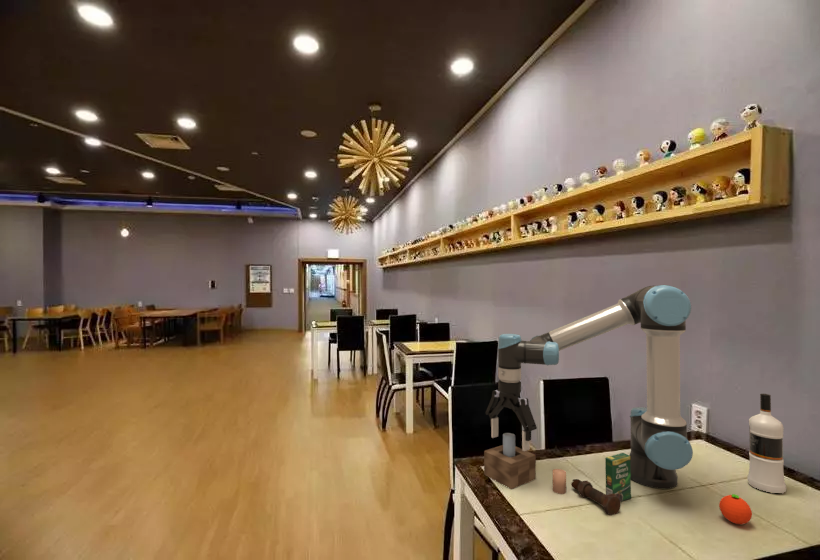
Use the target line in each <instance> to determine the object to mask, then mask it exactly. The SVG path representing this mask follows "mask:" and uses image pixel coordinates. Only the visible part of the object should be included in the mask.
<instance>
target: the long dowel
mask: <svg viewBox="0 0 820 560" xmlns="http://www.w3.org/2000/svg"><path fill="white" fill-rule="evenodd" d="M502 445H503V455H505V456H508V457H510V458H511V457H514V456H515V446H516V435H515V434H514V433H511V432H504V433H503V434H502Z"/></svg>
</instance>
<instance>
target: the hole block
mask: <svg viewBox="0 0 820 560" xmlns="http://www.w3.org/2000/svg"><path fill="white" fill-rule="evenodd" d="M536 455H537V454H534V453H532V452H530V451H529V450H527V451H522V448H520V447H518V446H516V445H515V456H514V457H511V458H510V457H508V456H505V455H503V444H502V445H499V446H495V447H492V448H489V449H485V450H483V475H484V476H486V477H488V478H490V479H491V478H492V479H491V480H493V481H495V480H496V481H495V482H497V483H499V484H501V485H502V484H503V486H504V485H505V486H504V487H506V486H507V487H506V488H508V487H509V488H508V489H510V490H514V489H515V488H518V487H520V486H523V485H525V484H528V483H530V482H532V481H535V480H536V479H537V476H536V475H537V472H536V471H537V468H536V467H537V464H536V463H537V459H536V458H537V456H536Z"/></svg>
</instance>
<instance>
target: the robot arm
mask: <svg viewBox="0 0 820 560" xmlns="http://www.w3.org/2000/svg"><path fill="white" fill-rule="evenodd" d="M691 303H692V302H691V300H690V298H689V296H688V295H687V294H686V293H685V292H684V291H683V290H681V289H680V288H677V287H675V286H672V285H664V284H662V285H661V284H660V285H649V286H644V287H643V288H642V287H641V289H639V290H637V291H635V292H633V293H630V294H629V295H627V296H625V297H622V298H620V299H618V300H617V303H615V304H613V305H611V306H608V307H605V308H604V309H601V310H599V311H596V312H594V313H592V314H588V315H587V316H585V317H581V318H579V319H577V320H575V321H572V322H570V323H568V324H565V325H562V326H560V327H557V328H555V329H552V330H551V331H547V332H546V333H543V334H541V335H536V336H533V337H532V338H530V340H522V336H521V335H519V334H515V333H502V334H500V335H499V337H498V343H497V345H498V346H497V359H498V360H497V361H498V364H497V365H498V367H497V368H498V381H497V383H498V387H497V388H498V389H496V390H492V392H491V398H490V400H489V403H488V405H487V407H486V410H485V415H486V416H488V417H489V421H490V424H489V425H490V427H491V431H490V432H491V434H490V435H491V438H492V439H494V438H497V437H499V417H498V415H499V414H500V412H501V411H502V410H503V409H504V408H508V409H510V410H512V411H513V412H514V413H515V415H516V417H517V419H518V420H519V422H520V425H521V426H522V428H523V430H522V432H521V435H522V436H521V438H522V441H521V446H522V448H521V449H522V451H529V450H530V449H531V448H530V447H531V446H530V443H531V442H530V441H532V431H535V430H537V424H536V421H535V419H534V416H533V413H532V411H531V408H530V404H529V403H530V401H529V399H528V397H524V398H523V397H521V392H522V381H521V380H522V364H525V365H526V364H528V365H529V364H530V365H531V364H532V365H545V366H557V365H558V364H559V362H560V351H562V350H565V349H567V348H570V347H573V346H576V345H578V344H580V343H583V342H586V341H587V340H591V339H593V338H596V337H599V336H601V335H603V334H604V335H605V334H606V333H609V332H612V331H614V330H616V329H619V328H621V327H624V326H626V325H631V326H635V325H638V324H640V330H641V331H643V333H645V338H646V407H644V406H643V407H642V406H641V407H639V406H637V407H633V408H631V409H630V414H629V417H630V420H629V421H630V452H629V453H628V455H629V456H630V470H631V480H632V481H634V483H635V482H636V483H638V484H640V485H642V486H647V487H649V488H655V489H665V490H667V489H673V488H675V487H677V486H678V484H679V482H678V481H679V479H678V474H677V471H678V470H680V469H683V468H684V467H686V466H688V465H689V464H690V462H691V461H692V459H693V456H694V455H693V454H694V451H693V447H692V444H691V442H690V440H688V432H687V431H688V430H687V429H688V428H687V427H688V426H687V425H688V424H687V421H686V420H685V419H684V418H683V417H682V416H681V351H680V350H681V349H680V348H681V346H680V345H681V344H680V343H681V341H680V340H681V339H680V338H681V335H683V334H684V333H685V332H686V326H687V325H686V323H687V322H686V321H687V320H688V318H689V316H690V315H691V313H692V312H691V311H692V304H691Z"/></svg>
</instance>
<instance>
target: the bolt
mask: <svg viewBox="0 0 820 560" xmlns="http://www.w3.org/2000/svg"><path fill="white" fill-rule="evenodd" d="M570 484H571V488H573V489H574V490H575V491H577V492H578V494H579V496H581V497H582V498H584V499H587V497H588V498H589V499H591V500H593V501H594V502H595V503H597V504H599V505H601V506H602V508H603V510H604V512H605V513H606V514H607V515H609V516H613V515H617V514H618V513H619V512H620V510H621V506H622V505H621V502H620V500H619V498H618V497H617V495H615V494H609V495H606V493H603V492H602V491H600V490H598V489H597V488H595V487H593V486H594V485H593V484H592V483H591V482H590V481H588V480H580V479H579V478H574V479H572V482H571V483H570Z"/></svg>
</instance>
